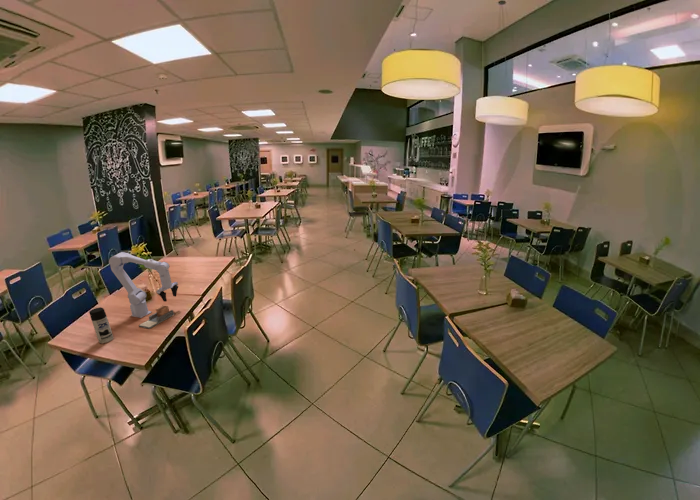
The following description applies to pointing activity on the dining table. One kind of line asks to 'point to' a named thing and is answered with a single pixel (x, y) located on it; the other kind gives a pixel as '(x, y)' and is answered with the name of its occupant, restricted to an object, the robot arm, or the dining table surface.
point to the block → (162, 310)
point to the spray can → (101, 325)
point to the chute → (156, 319)
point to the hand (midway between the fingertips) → (170, 298)
